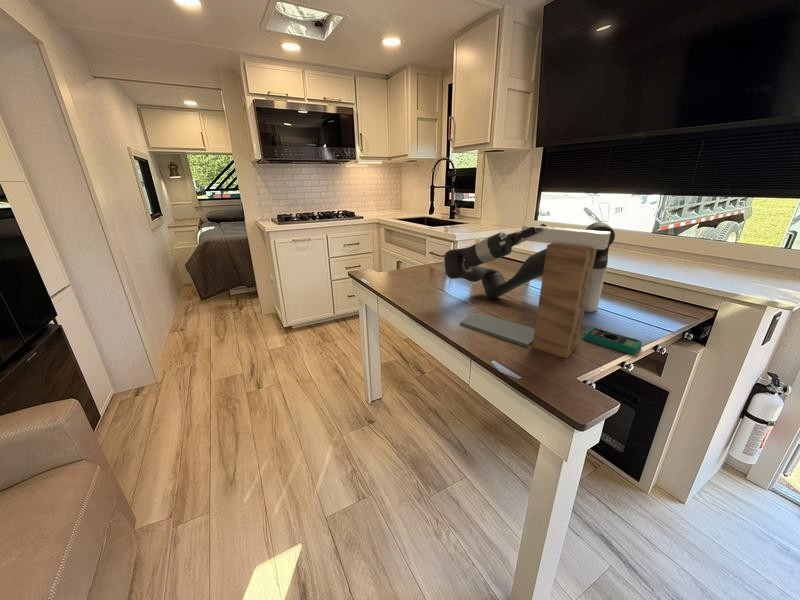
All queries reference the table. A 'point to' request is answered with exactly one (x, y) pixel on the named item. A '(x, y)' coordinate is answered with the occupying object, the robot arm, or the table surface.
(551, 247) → the walnut stand
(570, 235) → the aluminium bar
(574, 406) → the table surface
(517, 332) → the rubber mat
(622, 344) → the digital multimeter
